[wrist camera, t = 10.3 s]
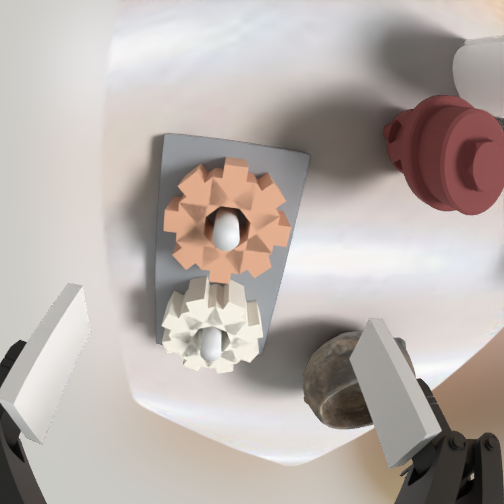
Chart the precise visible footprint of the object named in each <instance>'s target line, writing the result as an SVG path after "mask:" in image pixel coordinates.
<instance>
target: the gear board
mask: <svg viewBox="0 0 504 504" xmlns="http://www.w3.org/2000/svg"><path fill="white" fill-rule="evenodd" d="M226 157H231V158H238V159H245V160H247V164H248V172H250V173H253V174H254V175H255V177H256V178H257V179H259V178H261V177H262V176H264V175H265V174H267V173H268V174H269V175H270V177H271V178H272V179H273V181H274V182H275V184H276V185H277V186H278V188H279V189H280V191H281V193H282V195H283V196H284V198H285V200H286V202H284V203H283V204H281V205H280V206H278V207H277V210H279V211H284V213H285V215H286V217H287V219H288V221H289V223H290V225H291V230H290V234H289V239H288V243H287V247H283V246H276V245H274V246H273V251H272V254H270V255H269V259H270V263H271V268H270V269H268V270H267V271H265V272H264V273H262V274H260V275H259V276H257V277H256V278H254V277H253V276H252V275H251V274H250V273H249V271H248V270H246V271H244V272H242V273H241V274H234V273H231V277H230V279H231V280H233V281H235V282H237V283H239V284H241V285H243V286H244V291H245V299H246V302H251V301H255V300H257V304H258V307H259V311H260V316H261V324H262V331H263V337H262V338H258V347H259V354H258V355H262V352H263V348H264V345H265V341H266V337H267V334H268V330H269V326H270V322H271V319H272V315H273V311H274V307H275V303H276V300H277V296H278V292H279V288H280V284H281V280H282V276H283V272H284V268H285V264H286V260H287V256H288V252H289V248H290V244H291V240H292V235H293V231H294V227H295V223H296V218H297V214H298V210H299V206H300V201H301V197H302V192H303V188H304V183H305V179H306V174H307V170H308V165H309V161H310V155H309V154H307V153H303V152H298V151H293V150H287V149H282V148H277V147H271V146H265V145H259V144H253V143H247V142H240V141H233V140H226V139H219V138H211V137H202V136H193V135H184V134H173V133H167V134H165V136H164V144H163V153H162V163H161V174H160V186H159V199H158V214H157V234H156V266H155V316H156V344H162V345H163V343H162V339H163V335H164V331H165V327H163V326H162V322H163V318H164V315H165V311H166V308H167V304H168V301H169V300H170V298H171V296H172V294H173V293H174V291H177V292H179V293H181V294H183V295H184V294H185V292H186V291H187V290H188V289H189V284H190V280H192V279H196V278H201V277H205V276H207V277H208V280H209V276H210V271H209V270H201V269H200V267H199V266H198V265H197V264H196V263H195V264H194V265H192V266H191V267H190V268H188V269H187V270H186V269H185V268H184V267H183V266H182V265H181V264H180V263H179V262H178V261H177V260H176V259H175V257H174V256H173V255H172V254H173V252H174V249H175V246H176V244H177V242H176V234H177V233H175V232H167V231H164V215H165V209H166V208H167V206H168V204H169V203H170V201H171V200H172V198H173V197H174V196H176V197H183V195H184V193H183V192H182V191H181V190H180V188H179V187H178V185H179V183H180V182H181V181H182V179H183V178H184V176H185V175H186V174H188V173H189V172H190V171H192V170H193V169H194V168H195V167H197V166H198V165H199V164H202V165H203V166H204V167H205V169H206V170H207V171H208V172H210V171H212V170H213V169H214V168H222V169H224V166H225V159H226ZM207 218H208V219H209V220H210V222H211V223H212V224H213V225H214V231H213V243H214V245H215V246H216V247H217V248H218V249H220V250H222V251H230V250H233V249H234V248H236V247H237V245H238V244H239V241H240V236H239V227H240V226H241V225H243V224H244V223H246V216H245V215H244V214H243V212H242V211H241V210H240V209H238V208H231V207H224V206H220V207H219V208H217V209H216V210H214V211H213V212H212V213H210V214H209V215H208V216H207ZM209 283H210V285H212V284H220V285H222V286H224V285H225V284H226V283H217V282H209ZM221 338H222V330H221V329H219V328H216V327H214V326H211V327H206V328H203V330H202V339H201V349H200V355H201V357H202V358H203V359H204V360H207V361H216V360H218V359H219V358H220V357H221Z"/></svg>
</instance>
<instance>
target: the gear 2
mask: <svg viewBox="0 0 504 504" xmlns="http://www.w3.org/2000/svg"><path fill="white" fill-rule="evenodd" d="M162 326H163V327H165V331H164V335H163V339H162V343H163V345H164V347H165V349H166V351H167V352H168V354H173V353H178V354H179V356H180V358H183V359H184V361H183V366H185V367H187V368H190V369H192V370H195V371H197V372H198V370H199V369H200V368H201V367H202V366H203V367H205V368H208V369H209V368H215V369H216V371H217V373H218V374H219V373H226V372H231V371H233V364H238V363H239V361H240V360H244V361H246V362H249V363H250V362H251V361H252V360H253V359H254V358H255V357H256V356H257V355H258V354H259V347H258V338H262V337H263V331H262V324H261V316H260V311H259V307H258V304H257V300H255V301H251V302H246V299H245V291H244V286H243V285H241V284H239V283H237V282H235V281H233V280H231V279H230V283H229V284H225V285H224V286H222V285H220V284H212V285H210V283H209V280H208V277H207V276H205V277H201V278H196V279H192V280H190V284H189V289H188V290H187V291H186V292H185V294H184V295H183V294H181V293H179V292H177V291H174V293H173V294H172V296H171V298H170V300H169V301H168V304H167V308H166V311H165V315H164V318H163V322H162ZM211 326H214V327H216V328H219V329H221V330H222V338H221V357H220V358H219V359H218V360H216V361H207V360H204V359H203V358H202V357H201V355H200V349H201V339H202V330H203V328H206V327H211Z"/></svg>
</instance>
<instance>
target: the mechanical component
mask: <svg viewBox="0 0 504 504" xmlns="http://www.w3.org/2000/svg"><path fill="white" fill-rule="evenodd" d="M383 136H384V137H385V138H386V139H387V149H388V154H389V156H390V159H391V161H392V163H393V164H394V166H395V167H396V168H397V169H398V170H399V171H400V172H402V173H403V174H404V176H405V179H406V181H407V183H408V185H409V187H410V189H411V190H412V192H413V193H414V194H415V195H416V196H417V197H418V198H419V199H420V200H422V201H423V202H425V203H426V204H428V205H429V206H431V207H433V208H435V209H437V210H441V211H454V210H457V211H459V212H460V213H463V214H466V215H477V214H480V213H482V212H484V211H486V210H487V209H489V208H490V207H491V206H492V205H493V204H494V203H495V202H496V200H497V199H498V197H499V196H500V194H501V192H502V190H503V188H504V131H503V129H502V127H501V125H500V124H499V123H498V121H497V120H496V119H495V118H494V117H493V116H492V115H491V114H490V113H488V112H487V111H484V110H482V109H476V108H474V107H473V106H472V105H471V104H470V103H468V102H467V101H466V100H464V99H462V98H459V97H456V96H448V95H436V96H432V97H429V98H427V99H425V100H423V101H422V102H420V103H419V104H418V105H417V106H416V107H415V108H414V109H410V110H406V111H403V112H401V113H400V114H399V115H397V116H396V118H395V119H394V120H393V122H392V123H391V124H387V125H385V127H384V128H383Z"/></svg>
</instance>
